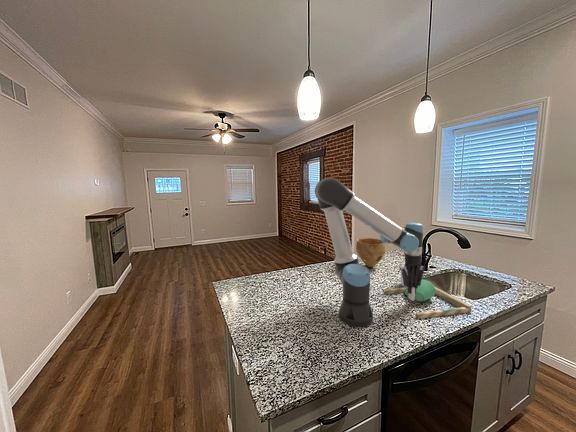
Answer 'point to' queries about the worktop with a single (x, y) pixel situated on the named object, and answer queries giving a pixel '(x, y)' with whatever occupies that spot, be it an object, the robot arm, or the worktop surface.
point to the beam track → (447, 311)
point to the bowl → (370, 250)
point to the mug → (423, 291)
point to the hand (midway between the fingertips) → (411, 299)
